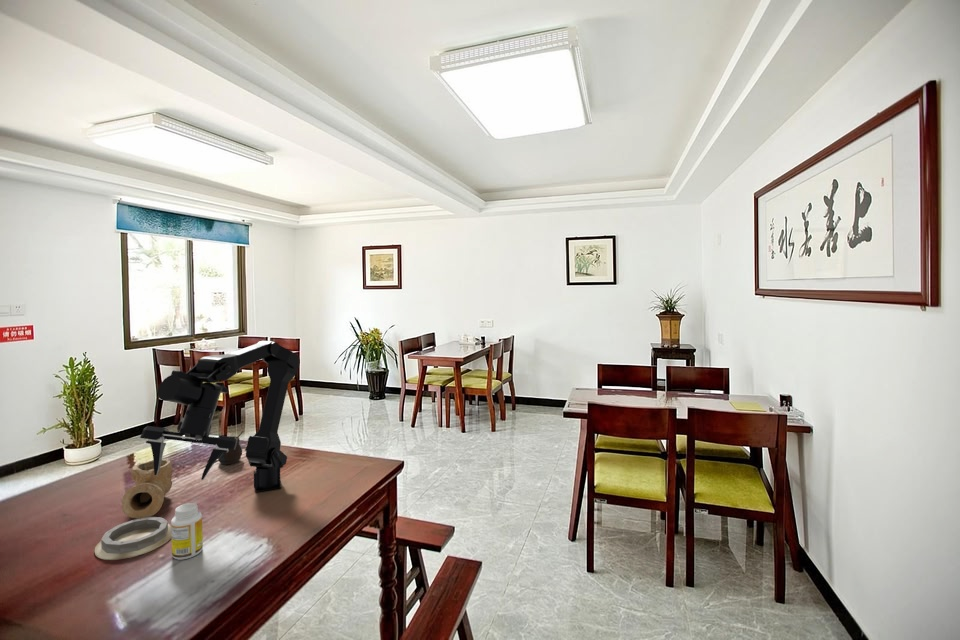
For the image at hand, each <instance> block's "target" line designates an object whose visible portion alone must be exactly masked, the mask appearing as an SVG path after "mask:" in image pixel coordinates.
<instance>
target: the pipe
mask: <svg viewBox="0 0 960 640" xmlns="http://www.w3.org/2000/svg"><path fill="white" fill-rule="evenodd" d="M172 475H173V467H172V462H171V460H168V459H162V460H161V465H160V469H159V472H158V474H157V475H154V462H153V460H150V461H145V462H141V463H140V462H139V463H137V464H134V465H133V466H132V469H131V471H130V477H131V479H132V480H133V481H134V482H135V485H134V486H132V487H130V488H129V489H128V490H127V491H126V492H125V493H124V495H123V496H122V500H121V503H122V505H121V508H122V512H123V513H124V515H125V516H127V517H128V518H132V519H141V518H147V517H154V515H156V514H157V513H158V512H159V511H160V509H161V508H162V507H163V506H162V505H163V503H164V502H165V496H166V495H167V494H168V493H169V492H170V490H171V488H172V487H173V481H172Z"/></svg>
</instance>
